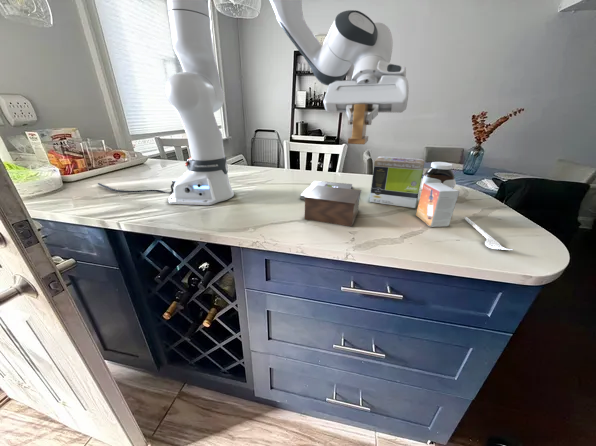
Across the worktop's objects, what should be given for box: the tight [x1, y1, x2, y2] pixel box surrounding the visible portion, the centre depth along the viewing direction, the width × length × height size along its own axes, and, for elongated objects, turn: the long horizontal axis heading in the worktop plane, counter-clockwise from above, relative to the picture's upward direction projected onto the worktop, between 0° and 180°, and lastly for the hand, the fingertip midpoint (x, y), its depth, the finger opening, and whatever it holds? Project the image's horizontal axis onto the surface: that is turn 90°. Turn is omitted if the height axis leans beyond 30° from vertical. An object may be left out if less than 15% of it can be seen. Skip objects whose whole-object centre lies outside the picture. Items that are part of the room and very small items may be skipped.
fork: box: [463, 216, 514, 251], centre depth 63 cm, size 3×20×2 cm, turn 171°
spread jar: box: [421, 161, 457, 189], centre depth 92 cm, size 12×11×12 cm
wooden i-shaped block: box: [347, 104, 369, 145], centre depth 59 cm, size 4×7×9 cm, turn 159°
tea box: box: [369, 155, 425, 209], centre depth 83 cm, size 15×10×15 cm, turn 65°
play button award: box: [300, 180, 353, 201], centre depth 94 cm, size 16×2×20 cm
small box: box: [415, 183, 460, 228], centre depth 69 cm, size 8×6×10 cm
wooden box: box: [304, 185, 362, 227], centre depth 74 cm, size 14×12×7 cm
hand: (359, 123), depth 59 cm, fingers closed on wooden i-shaped block, 3 cm apart
